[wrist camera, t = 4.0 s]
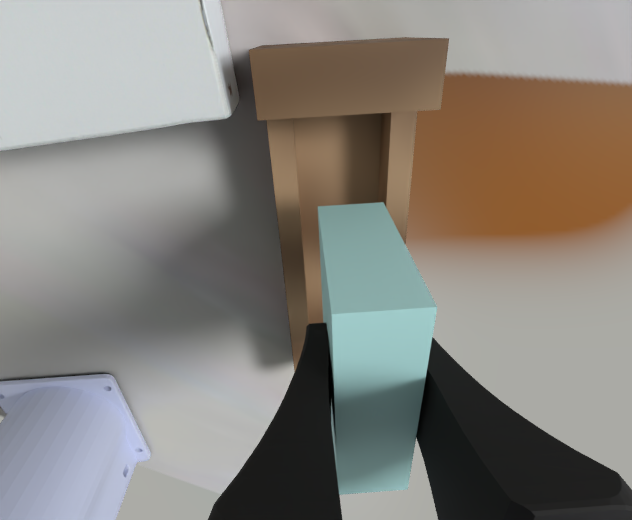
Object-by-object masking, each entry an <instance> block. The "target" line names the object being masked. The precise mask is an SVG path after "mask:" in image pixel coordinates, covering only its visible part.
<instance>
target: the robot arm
mask: <svg viewBox="0 0 632 520" xmlns="http://www.w3.org/2000/svg"><path fill="white" fill-rule="evenodd" d="M0 406H1V408H2V409H3V410H4V412H5V413H6V414H7V415H6V416H5V418H4V419H3V420H2V422H1V423H0V520H116V517H117V515H118V512H119V509H120V507H121V504H122V501H123V498H124V496H125V493H126V490H127V488H128V485H129V482H130V479H131V476H132V474H133V471H134V469H135V466H136V463H137V462H142V461H147V460H149V459H150V456H151V452H150V450H149V448H148V446H147V444H146V442H145V440H144V438H143V436H142V434H141V432H140V430H139V428H138V426H137V424H136V422H135V419H134V417H133V415H132V413H131V411H130V409H129V407H128V405H127V403H126V401H125V399H124V397H123V395H122V393H121V391H120V389H119V386H118V384H117V382H116V380H115V378H114V377H113V376H112V375H109V374H97V375H83V376H69V377H55V378H41V379H27V380H13V381H0ZM416 438H417V441H418V443H419V446H420V449H421V453H422V456H423V459H424V462H425V466H426V470H427V474H428V478H429V482H430V486H431V490H432V494H433V499H434V503H435V507H436V511H437V516H438V520H632V490H631V488H630V487H629V486H628V485H627V484H626V482H625V481H624V480H623V479H622V478H621V476H620V475H619V474H618V473H617V472H615V471H613V470H611V469H609V468H607V467H606V466H604V465H602V464H600V463H598V462H596V461H594V460H593V459H591V458H589V457H587V456H585V455H583V454H581V453H580V452H578V451H576V450H574V449H573V448H571V447H569V446H567V445H566V444H564V443H563V442H561V441H559V440H557V439H556V438H554V437H553V436H551V435H549V434H548V433H546V432H545V431H543V430H541V429H540V428H538V427H537V426H535V425H534V424H532V423H531V422H529V421H528V420H527V419H525V418H523V417H522V416H521V415H519V414H518V413H516V412H515V411H513V410H512V409H511V408H509V407H508V406H507V405H505V404H504V403H503V402H501V401H500V400H499V399H498V398H496V397H495V396H494V395H492V394H491V393H490V392H489V391H488V390H486V389H485V388H484V387H483V386H482V385H480V384H479V383H478V382H477V381H476V380H475V379H474V378H473V377H472V376H471V375H469V374H468V373H467V372H466V371H465V370H464V369H463V368H462V367H461V366H460V365H459V364H458V363H457V362H456V361H455V360H454V359H453V358H452V357H451V356H450V355H449V354H448V353H447V352H446V351H445V350H444V349H443V348H442V347H441V346H440V345H439V344H438V343H437V341H436V340H435V339H434V338H433V337H432V342H431V348H430V355H429V361H428V367H427V373H426V379H425V385H424V391H423V398H422V404H421V410H420V416H419V422H418V428H417V435H416ZM208 520H342V514H341V506H340V497H339V489H338V480H337V471H336V462H335V453H334V444H333V435H332V426H331V381H330V357H329V339H328V331H327V324H326V323H312V324H309V325H307V326H306V335H305V341H304V345H303V349H302V352H301V356H300V359H299V362H298V365H297V368H296V370H295V373H294V376H293V378H292V380H291V383H290V385H289V388H288V390H287V392H286V395H285V397H284V399H283V401H282V403H281V405H280V407H279V409H278V411H277V413H276V415H275V417H274V418H273V420H272V422H271V424H270V425H269V427H268V429H267V431H266V432H265V434H264V436H263V437H262V439H261V441H260V442H259V444H258V445H257V447H256V448H255V450H254V451H253V453H252V454H251V456H250V457H249V459H248V460H247V461H246V463H245V464H244V466H243V467H242V469H241V470H240V472H239V473H238V474H237V476H236V477H235V478H234V479H233V481H232V482H231V483H230V485H229V486H228V487H227V488H226V490H225V491H224V492H223V493H222V495H221V496H220V497H219V498H218V500H217V501H216V502H215V504H214V506H213V509H212V511H211V513H210V516H209V518H208Z"/></svg>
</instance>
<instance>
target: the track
mask: <svg viewBox="0 0 632 520" xmlns="http://www.w3.org/2000/svg"><path fill="white" fill-rule="evenodd" d="M448 42H449V39H447V38H407V37H405V38H388V39H370V40H353V41H335V42H317V43H300V44H282V45H264V46H259V47H256V48H253V49H250V50H249V56H250V64H251V72H252V80H253V88H254V96H255V104H256V112H257V120H266V121H267V130H268V139H269V147H270V156H271V165H272V174H273V183H274V192H275V201H276V210H277V219H278V228H279V236H280V245H281V254H282V263H283V272H284V281H285V290H286V299H287V308H288V317H289V326H290V334H291V343H292V352H293V361H294V370H296V368H297V365H298V362H299V359H300V356H301V352H302V349H303V345H304V341H305V335H306V326H307V325H309V324H312V323H323V306H322V285H321V265H320V244H319V223H318V206H332V205H348V204H363V203H379V202H384V204H385V206H386V208H387V210H388V212H389V214H390V216H391V218H392V220H393V222H394V224H395V226H396V228H397V230H398V232H399V234H400V236H401V237H402V239H403V241H404V243H406V231H407V220H408V209H409V198H410V186H411V176H412V164H413V153H414V142H415V131H416V119H417V111H422V110H440V109H441V101H442V92H443V84H444V76H445V67H446V59H447V51H448Z"/></svg>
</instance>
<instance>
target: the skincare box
mask: <svg viewBox="0 0 632 520" xmlns="http://www.w3.org/2000/svg"><path fill="white" fill-rule="evenodd" d="M238 103H239V93H238V88H237V83H236V78H235V72H234V67H233V62H232V57H231V52H230V47H229V42H228V37H227V31H226V27H225V22H224V17H223V12H222V7H221V3H220V0H0V151H5V150H12V149H19V148H26V147H33V146H40V145H47V144H54V143H61V142H69V141H76V140H83V139H90V138H96V137H104V136H111V135H118V134H124V133H131V132H138V131H144V130H151V129H157V128H163V127H169V126H174V125H179V124H186V123H192V122H202V121H212V120H221V119H226V118H228V117H230V116H231V115H232V113H233V112H234V111H235V108H236V106H237V105H238Z"/></svg>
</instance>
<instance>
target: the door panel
mask: <svg viewBox="0 0 632 520" xmlns="http://www.w3.org/2000/svg"><path fill="white" fill-rule="evenodd" d="M318 223H319V244H320V265H321V285H322V306H323V323H326V324H327V331H328V339H329V357H330V381H331V426H332V435H333V444H334V453H335V462H336V471H337V480H338V489H339V495H341V494H353V493H367V492H380V491H393V490H406V489H408V484H409V477H410V471H411V465H412V459H413V453H414V447H415V441H416V435H417V428H418V422H419V416H420V410H421V404H422V398H423V391H424V385H425V379H426V373H427V367H428V361H429V355H430V348H431V342H432V336H433V330H434V324H435V317H436V311H437V306H436V304H435V302H434V300H433V298H432V296H431V294H430V292H429V290H428V288H427V286H426V284H425V282H424V280H423V279H422V276H421V275H420V273H419V271H418V269H417V267H416V265H415V263H414V261H413V259H412V257H411V255H410V253H409V251H408V249H407V247H406V245H405V243H404V241H403V239H402V237H401V236H400V234H399V232H398V230H397V228H396V226H395V224H394V222H393V220H392V218H391V216H390V214H389V212H388V210H387V208H386V206H385V204H384V202H379V203H363V204H348V205H332V206H318Z"/></svg>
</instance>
